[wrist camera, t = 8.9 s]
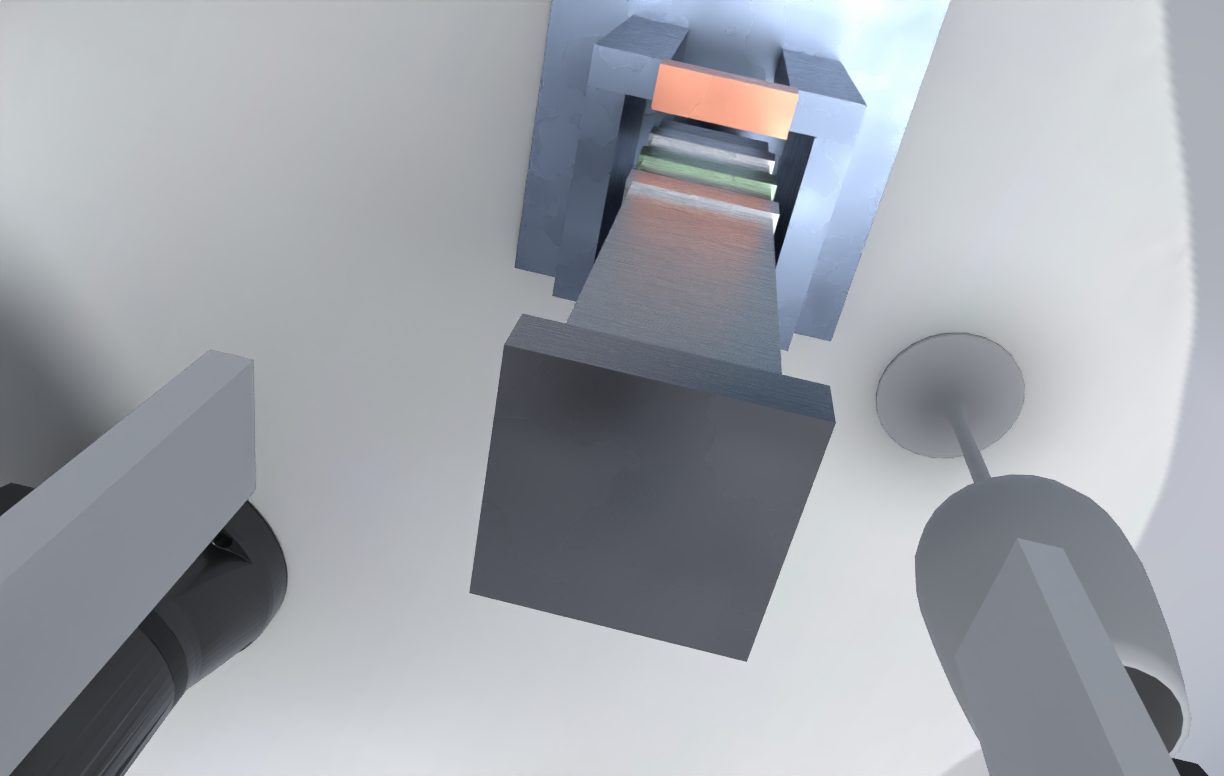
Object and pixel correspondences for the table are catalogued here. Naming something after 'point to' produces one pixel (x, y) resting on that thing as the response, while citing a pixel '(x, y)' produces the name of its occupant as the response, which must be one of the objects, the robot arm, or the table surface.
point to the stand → (728, 124)
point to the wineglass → (1015, 520)
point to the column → (658, 416)
